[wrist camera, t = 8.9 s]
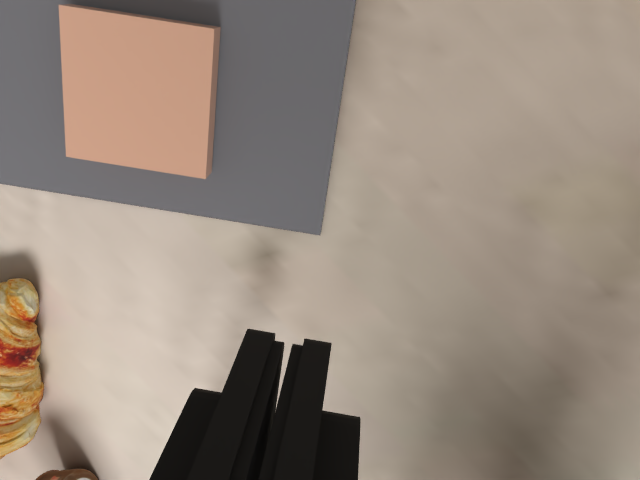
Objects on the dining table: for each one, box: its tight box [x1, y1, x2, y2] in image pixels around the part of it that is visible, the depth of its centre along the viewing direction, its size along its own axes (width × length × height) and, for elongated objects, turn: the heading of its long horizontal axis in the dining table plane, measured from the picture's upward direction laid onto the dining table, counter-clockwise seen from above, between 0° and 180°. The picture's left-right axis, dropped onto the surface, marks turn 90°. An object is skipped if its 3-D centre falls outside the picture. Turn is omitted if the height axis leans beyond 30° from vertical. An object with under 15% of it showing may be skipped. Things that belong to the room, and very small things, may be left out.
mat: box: [0, 0, 356, 235], centre depth 32 cm, size 22×14×1 cm, turn 82°
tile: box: [59, 4, 221, 179], centre depth 31 cm, size 2×8×8 cm
